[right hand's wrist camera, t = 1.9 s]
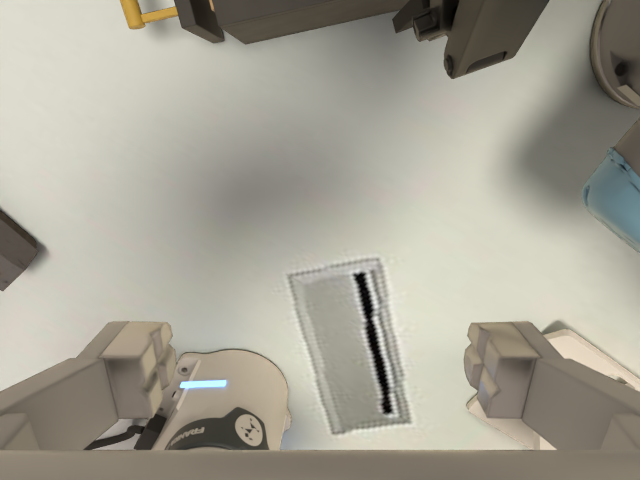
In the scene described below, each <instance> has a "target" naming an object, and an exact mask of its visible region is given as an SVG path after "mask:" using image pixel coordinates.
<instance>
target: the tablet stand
mask: <svg viewBox="0 0 640 480" xmlns="http://www.w3.org/2000/svg"><path fill="white" fill-rule="evenodd" d="M543 336H544V337H545V338H546V339H547V340H548V341H549V342H550V343H551V344H552V345H553V347H554V348H555V349H556V350H557V351H558V352H559V353H560V354H561V355H562V356H563V357H564V358H571V359H573V360H575V361H577V362H579V363H581V364H583V365H585V366H587V367H589V368H591V369H593V370H596V371H598V372H600V373H602V374H604V375H606V376H609V375H618V376H619V377H621V378H622V379H624V380H625V381H627V382H628V384H625V385H627V386H629V387H631V388H633V389H635V390H637V391H639V392H640V379H639V378H637V377H636V376H635V375H633V374H632V373H630V372H629V371H628V370H626V369H625V368H623V367H622V366H621V365H619V364H618V363H616V362H615V361H614V360H612V359H611V358H609V357H608V356H607V355H605V354H604V353H602V352H601V351H600V350H598V349H597V348H596V347H594V346H593V345H591V344H590V343H589V342H587V341H586V340H584V339H583V338H582V337H580V336H579V335H577V334H576V333H575V332H573V331H572V330H568V329H563V330H559V331H556V332H552V333H549V334H545V335H543ZM467 408H468V410H469V412H470V413H472V414H473V415H475V416H477V417H478V418H480V419H482V420H483V421H485V422H486V423H488V424H490V425H491V426H493V427H495V428H496V429H498V430H500V431H501V432H503V433H505V434H506V435H508V436H510V437H511V438H513V439H515V440H516V441H518V442H520V443H521V444H523V445H525V446H526V447H528V448H530V449H531V450H557V449H556V448H554V447H553V446H552V445H551V444H549V443H548V442H547V441H546V440H545V439H543V438H542V437H541V436H540V435H538V434H537V433H536V432H535V431H534V430H532V429H531V428H530V427H529V426H527V425H526V424H525V423H524V422H523V421H522V419H503V418H487V417H486V415H485V413H484V411H483V409H482V407H481V405H480V403H479V401H478V399H477V395H476V396H475V397H474V398H473V399H472V400H471V401H469V402H468V404H467Z"/></svg>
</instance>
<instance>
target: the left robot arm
mask: <svg viewBox="0 0 640 480" xmlns="http://www.w3.org/2000/svg"><path fill="white" fill-rule="evenodd" d="M548 2H549V0H409V1H408V2H407V4H406V5H405V6H404V7H403V8H402V9H401V10H400V11H399V13H398V14H397V15H396V16H395V17H394V18H393V19H392V20H393V24H394V28H395V32H396V33H398V32H401V31H404V30H406V29H409V28H412V27H413V29H414V33H415V36H416V38H417V40H418V41H419V42H420V41H423V40H426V39H427V40H428V41H432V40H435V39H437V38H440V37H443V36H445V35H447V36H448V41H447V44H446V48H445V52H444V67H445V70H446V71H447V74H448V76H449V77H450V78H451V79H455V78H457V77H460V76H463V75H466V74H469V73H471V72H474V71H477V70H480V69H483V68H486V67H488V66H491V65H494V64H497V63H500V62H503V61H505V60H508V59H511V58H513V57H514V56H515V55H516V53H517V52H518V50H519V48H520V47H521V45H522V44H523V42H524V40H525V39H526V37H527V36H528V34H529V32H530V31H531V29H532V27H533V26H534V24H535V23H536V21H537V19H538V18H539V16H540V15H541V13H542V11H543V10H544V8H545V7H546V5H547V3H548ZM591 62H592V67H593V71H594V73H595V76H596V78H597V80H598V83H599V84H600V86H601V87H602V89H603V90H604V91H605V92H606V93H607V94H608V95H609V96H610V97H611V98H612V99H614V100H615V101H617V102H619V103H621V104H623V105H625V106H628V107H632V108H638V109H640V0H604V1H603V3H602V5H601V7H600V9H599V11H598V14H597V17H596V20H595V23H594V27H593V31H592V37H591ZM581 196H582V201H583V204H584V206H585V207H586V209H587V210H588V211H589V212H590V213H591V214H592V215H593V216H594V217H595V218H596V219H598V220H599V221H600V222H601V223H602V224H603V225H605V226H606V227H607V228H608V229H609V230H611V231H612V232H613V233H614V234H616V235H617V236H618V237H619V238H621V239H622V240H623V241H624V242H626V243H627V244H628V245H629V246H631V247H632V248H633V249H635V250H636V251H637V252H639V253H640V118H639V119H638V120H637V121H636V123H635V124H634V125H633V126H632V127H631V128H630V129H629V131H628V132H627V133H626V134H625V135H624V136H623V137H622V138H621V140H620V141H619V142H618V143H617V144H616V145H615V146H614V148H610V149H609V150H608V151H607V157H606V158H605V159H604V160H603V162H602V163H601V164H600V165H599V167H598V168H597V169H596V170H595V172H594V173H593V174H592V175H591V177H590V178H589V179H588V180H587V182H586V183H585V184H584V186H583V189H582V194H581Z"/></svg>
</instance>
